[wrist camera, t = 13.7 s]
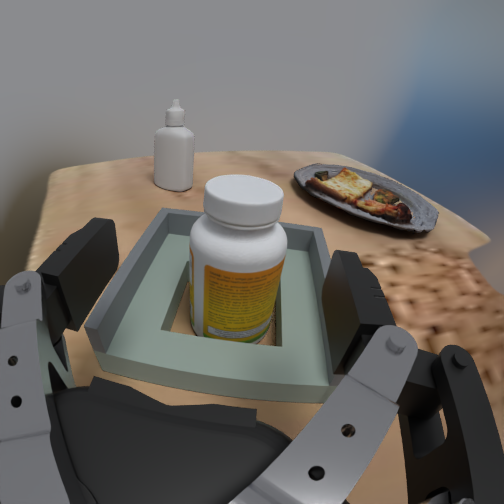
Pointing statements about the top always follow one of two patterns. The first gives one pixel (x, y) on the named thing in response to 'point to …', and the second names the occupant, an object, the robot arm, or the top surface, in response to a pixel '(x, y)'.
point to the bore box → (207, 349)
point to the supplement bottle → (236, 258)
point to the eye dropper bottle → (174, 152)
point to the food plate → (368, 196)
